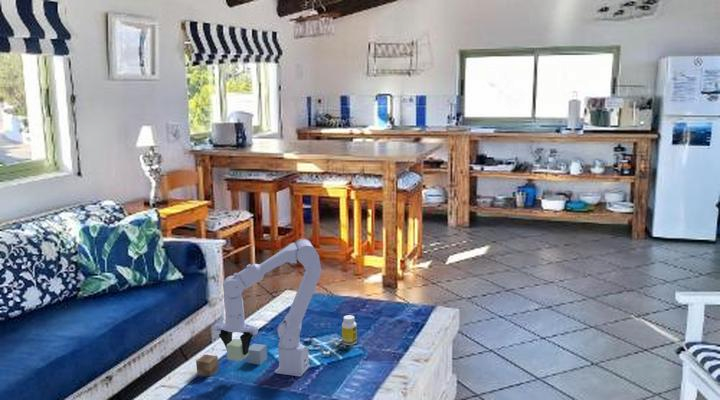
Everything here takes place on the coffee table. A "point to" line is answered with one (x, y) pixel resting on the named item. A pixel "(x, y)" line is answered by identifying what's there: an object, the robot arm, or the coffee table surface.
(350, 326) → the supplement bottle
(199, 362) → the walnut block
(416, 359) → the coffee table surface
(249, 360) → the slate block
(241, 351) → the sage block
